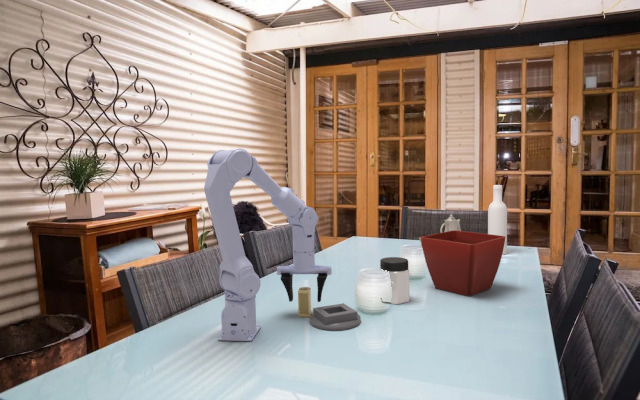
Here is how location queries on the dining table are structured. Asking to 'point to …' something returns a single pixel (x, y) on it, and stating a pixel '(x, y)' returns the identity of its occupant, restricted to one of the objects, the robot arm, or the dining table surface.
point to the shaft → (304, 302)
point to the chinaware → (449, 225)
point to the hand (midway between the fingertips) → (305, 300)
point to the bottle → (498, 216)
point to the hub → (335, 318)
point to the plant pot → (463, 260)
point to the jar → (397, 278)
